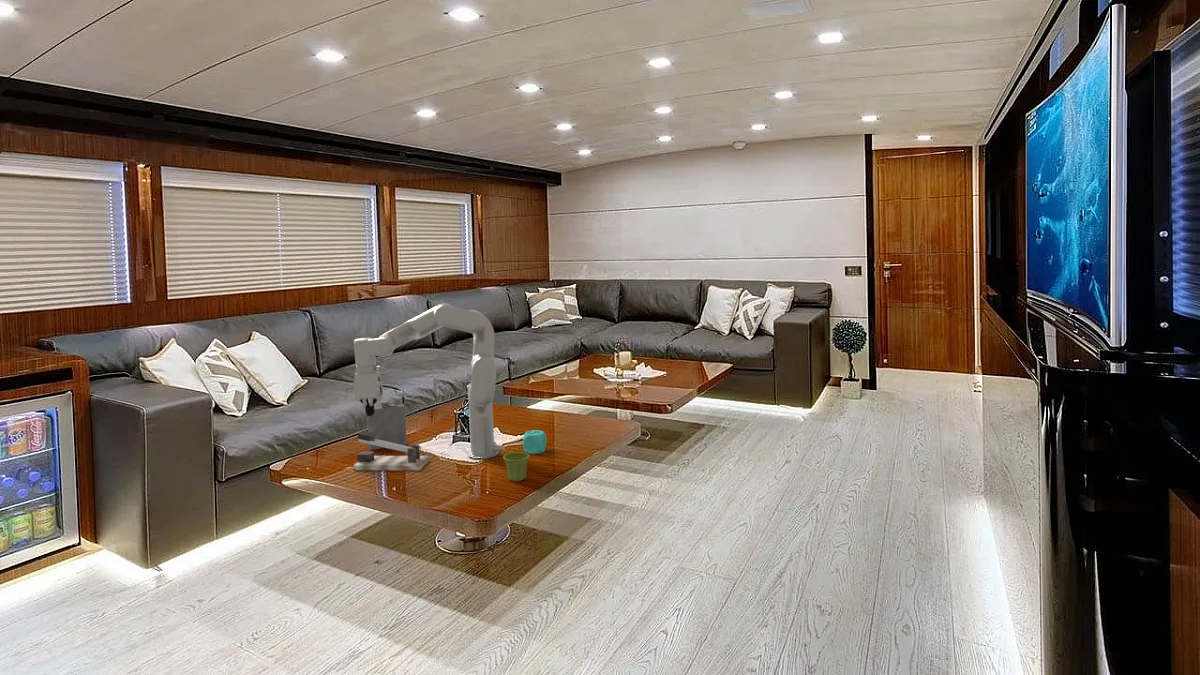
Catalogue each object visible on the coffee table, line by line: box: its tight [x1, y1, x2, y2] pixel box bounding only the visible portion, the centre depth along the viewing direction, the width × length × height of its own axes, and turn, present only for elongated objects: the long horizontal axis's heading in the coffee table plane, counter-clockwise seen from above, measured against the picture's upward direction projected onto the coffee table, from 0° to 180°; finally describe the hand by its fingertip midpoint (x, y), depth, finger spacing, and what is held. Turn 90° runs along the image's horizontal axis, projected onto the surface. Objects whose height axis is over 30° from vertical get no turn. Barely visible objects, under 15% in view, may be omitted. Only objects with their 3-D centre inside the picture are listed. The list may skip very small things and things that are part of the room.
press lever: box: [356, 430, 414, 454], centre depth 262 cm, size 22×5×4 cm, turn 87°
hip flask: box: [366, 400, 408, 451], centre depth 288 cm, size 16×4×20 cm, turn 117°
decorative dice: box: [522, 429, 548, 455], centre depth 277 cm, size 8×8×8 cm
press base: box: [353, 444, 430, 471], centre depth 262 cm, size 26×12×8 cm, turn 86°
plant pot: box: [503, 451, 530, 482], centre depth 244 cm, size 9×9×9 cm
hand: (370, 415), depth 261 cm, fingers closed
